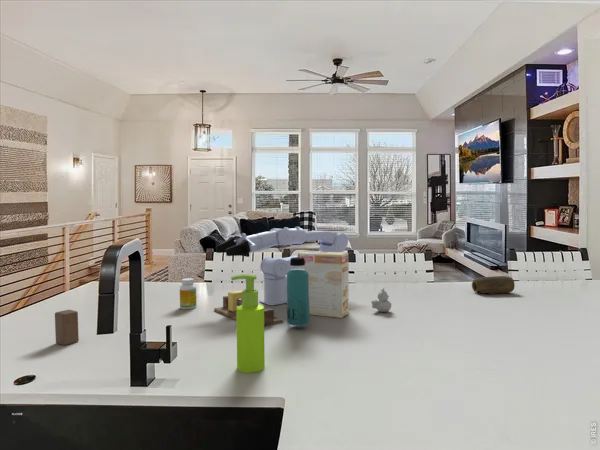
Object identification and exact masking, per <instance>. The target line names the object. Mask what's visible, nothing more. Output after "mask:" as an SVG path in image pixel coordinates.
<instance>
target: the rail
mask: <svg viewBox="0 0 600 450" xmlns="http://www.w3.org/2000/svg"><path fill="white" fill-rule="evenodd" d="M241 305H242V300H241V299H237V307H238V306H241ZM213 309H214V310H213V311H214V312H216V313H219V314H221V315H223V316H226V317H227V318H230V319H232V320H234V321H236V311H234V312H233V311H230V310H228V295H224V296H222V306H219V307H215V308H213ZM274 313H275V309H273V308H271V307H269V308H264V327H266V326H270V325H272V326H273V325H274V324H275V325H276V324H279V323H284V319H283V318H280V317H277V316H275V314H274Z"/></svg>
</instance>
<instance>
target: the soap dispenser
mask: <svg viewBox="0 0 600 450" xmlns="http://www.w3.org/2000/svg"><path fill="white" fill-rule="evenodd" d="M230 280H232V281H236V280H245V288H244V289H242V290H243V291H242V305H241V306H238V307H237V308H236V320H235V321H236V369H237V371H239V372H241V373H245V374H253V373H258V372H262V371H263V370H264V369H265V366H266V365H265V363H266V361H265V359H266V358H265V357H266V356H265V353H266V351H265V326H264V309H265V306H264V305H261V304H259V290H257V289H256V288H255V280H257V275H256V274H237V275H234V276H231V277H230Z"/></svg>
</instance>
